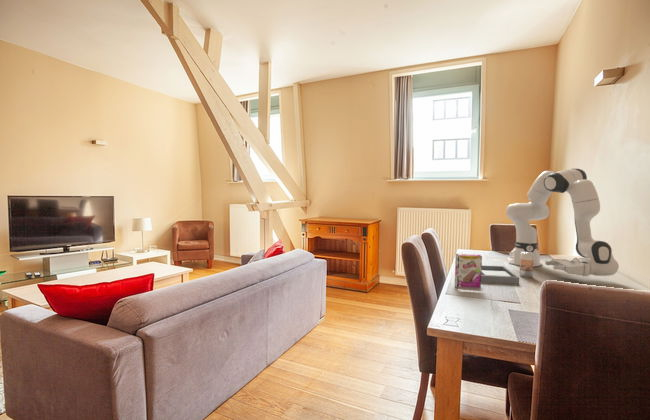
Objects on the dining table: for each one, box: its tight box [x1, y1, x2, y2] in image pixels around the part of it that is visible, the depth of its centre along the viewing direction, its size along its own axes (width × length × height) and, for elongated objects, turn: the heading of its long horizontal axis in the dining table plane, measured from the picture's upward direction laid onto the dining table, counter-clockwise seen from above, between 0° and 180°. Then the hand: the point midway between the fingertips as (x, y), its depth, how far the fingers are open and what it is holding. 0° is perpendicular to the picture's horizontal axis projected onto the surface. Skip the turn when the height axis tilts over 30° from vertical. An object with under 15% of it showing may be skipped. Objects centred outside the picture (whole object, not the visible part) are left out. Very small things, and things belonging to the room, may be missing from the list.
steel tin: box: [519, 252, 534, 279], centre depth 177 cm, size 6×6×14 cm
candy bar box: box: [454, 253, 483, 289], centre depth 161 cm, size 11×5×16 cm, turn 84°
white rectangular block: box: [481, 270, 511, 277], centre depth 172 cm, size 10×12×4 cm
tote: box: [481, 265, 520, 286], centre depth 177 cm, size 24×18×4 cm
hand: (549, 265), depth 175 cm, fingers open, 8 cm apart
